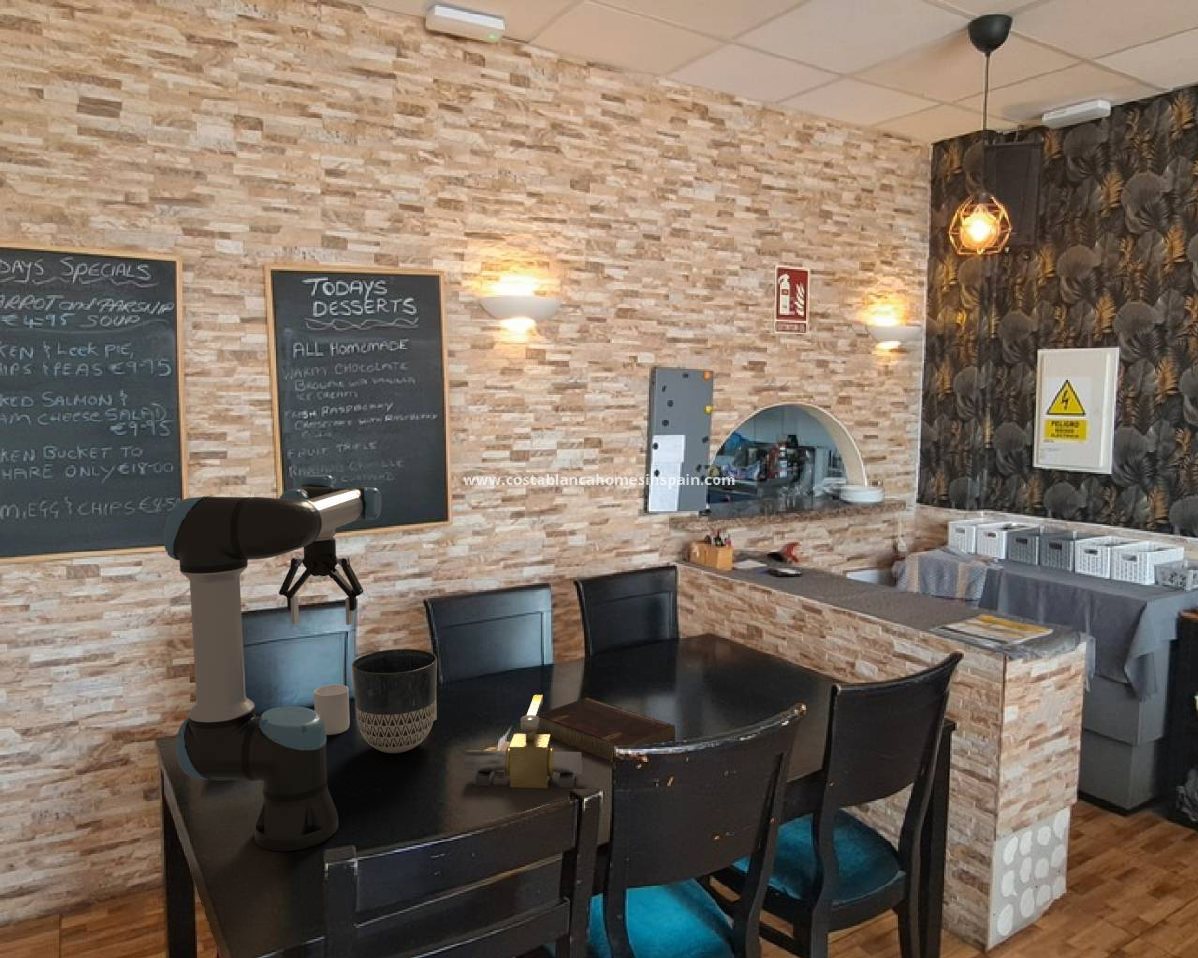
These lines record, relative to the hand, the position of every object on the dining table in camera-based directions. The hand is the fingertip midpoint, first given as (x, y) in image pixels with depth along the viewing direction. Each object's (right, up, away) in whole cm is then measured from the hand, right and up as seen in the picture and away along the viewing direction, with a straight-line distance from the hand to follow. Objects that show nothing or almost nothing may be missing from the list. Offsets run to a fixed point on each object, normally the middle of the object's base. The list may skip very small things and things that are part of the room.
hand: (322, 623), depth 212 cm
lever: (+54, -17, -20) cm, 60 cm away
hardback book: (+70, -28, -1) cm, 75 cm away
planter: (+20, -29, -7) cm, 36 cm away
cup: (0, -28, +7) cm, 28 cm away
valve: (+52, -30, -25) cm, 65 cm away
